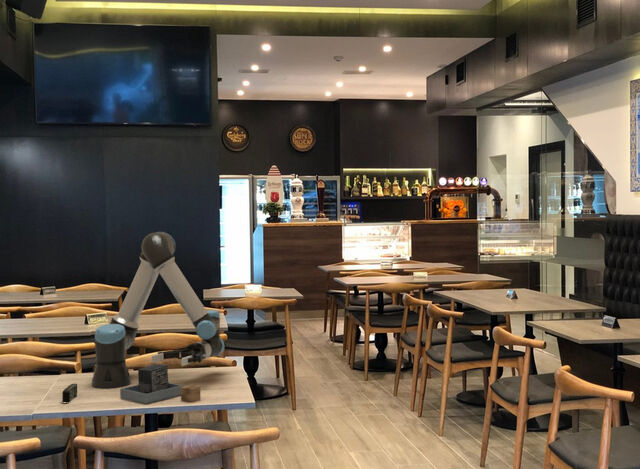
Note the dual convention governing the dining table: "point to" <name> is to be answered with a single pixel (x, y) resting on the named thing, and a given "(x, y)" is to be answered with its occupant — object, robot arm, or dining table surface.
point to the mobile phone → (69, 393)
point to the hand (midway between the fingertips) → (167, 360)
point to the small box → (153, 378)
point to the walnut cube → (190, 393)
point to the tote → (150, 394)
